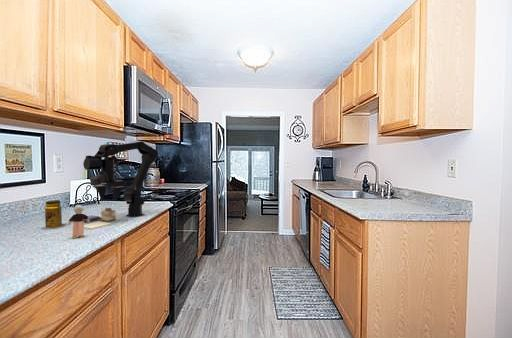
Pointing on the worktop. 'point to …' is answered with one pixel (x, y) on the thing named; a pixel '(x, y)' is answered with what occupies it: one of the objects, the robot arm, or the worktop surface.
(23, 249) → the worktop surface
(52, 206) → the condiment
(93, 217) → the ink pad
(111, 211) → the stamp
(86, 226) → the cream square plate
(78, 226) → the grandmother figurine
